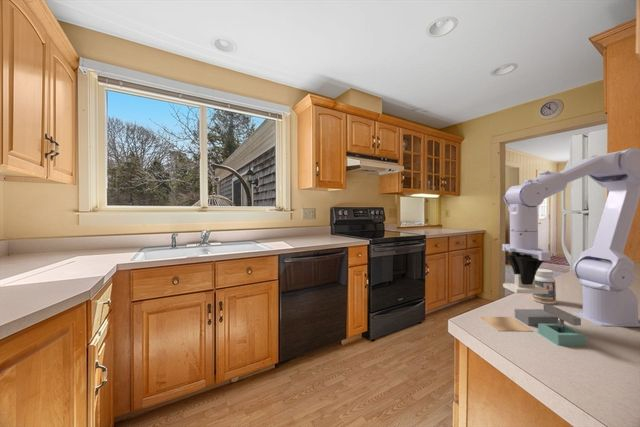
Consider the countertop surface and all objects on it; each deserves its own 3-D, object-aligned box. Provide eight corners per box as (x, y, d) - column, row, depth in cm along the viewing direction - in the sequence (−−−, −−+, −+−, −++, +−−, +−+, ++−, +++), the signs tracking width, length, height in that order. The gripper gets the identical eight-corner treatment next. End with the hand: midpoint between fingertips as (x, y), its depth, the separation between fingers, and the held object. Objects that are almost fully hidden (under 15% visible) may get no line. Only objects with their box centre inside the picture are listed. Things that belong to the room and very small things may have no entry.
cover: (532, 287, 69) (532, 272, 69) (548, 293, 63) (548, 277, 63) (503, 286, 69) (503, 272, 69) (516, 293, 64) (516, 277, 64)
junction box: (542, 318, 69) (542, 309, 69) (558, 326, 64) (557, 317, 64) (515, 318, 70) (514, 309, 70) (528, 326, 65) (528, 316, 65)
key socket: (563, 333, 61) (563, 323, 61) (588, 347, 55) (588, 335, 55) (536, 333, 61) (536, 323, 61) (558, 346, 55) (557, 335, 55)
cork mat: (511, 318, 70) (511, 316, 70) (533, 332, 62) (533, 330, 62) (480, 318, 70) (480, 316, 70) (498, 332, 62) (498, 330, 62)
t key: (542, 330, 62) (541, 304, 62) (551, 330, 62) (551, 304, 62) (572, 348, 54) (571, 318, 54) (583, 348, 54) (582, 318, 54)
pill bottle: (560, 305, 78) (560, 272, 78) (539, 304, 79) (538, 272, 79) (548, 298, 83) (547, 268, 83) (528, 297, 84) (527, 268, 84)
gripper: (491, 229, 74) (491, 275, 74) (527, 233, 59) (528, 291, 59) (516, 228, 73) (517, 275, 73) (560, 233, 59) (560, 291, 59)
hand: (524, 283), depth 66 cm, fingers closed on cover
